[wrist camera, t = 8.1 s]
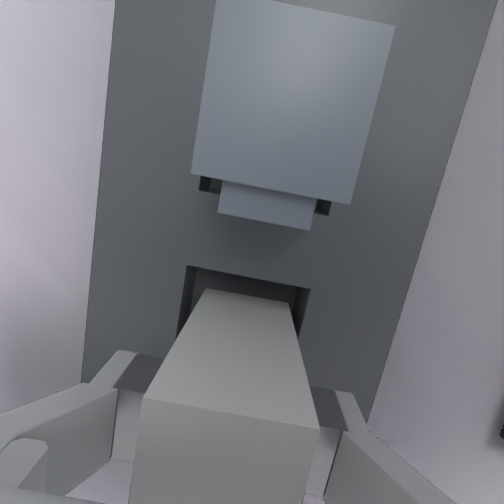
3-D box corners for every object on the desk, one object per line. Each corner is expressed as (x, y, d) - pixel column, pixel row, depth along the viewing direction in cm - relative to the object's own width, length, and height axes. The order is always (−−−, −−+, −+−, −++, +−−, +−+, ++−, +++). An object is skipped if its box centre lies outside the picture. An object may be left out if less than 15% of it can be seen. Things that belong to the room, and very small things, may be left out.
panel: (182, -211, 12) (19, -1011, 4) (490, -145, 12) (944, -791, 4) (117, 354, 16) (-16, 515, 9) (337, 396, 16) (406, 592, 9)
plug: (206, 287, 13) (142, 397, 6) (288, 302, 13) (320, 429, 6) (191, 379, 13) (118, 573, 7) (269, 393, 14) (278, 602, 7)
